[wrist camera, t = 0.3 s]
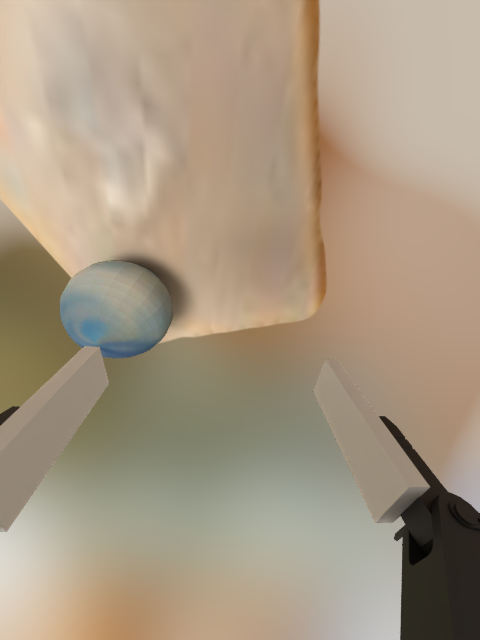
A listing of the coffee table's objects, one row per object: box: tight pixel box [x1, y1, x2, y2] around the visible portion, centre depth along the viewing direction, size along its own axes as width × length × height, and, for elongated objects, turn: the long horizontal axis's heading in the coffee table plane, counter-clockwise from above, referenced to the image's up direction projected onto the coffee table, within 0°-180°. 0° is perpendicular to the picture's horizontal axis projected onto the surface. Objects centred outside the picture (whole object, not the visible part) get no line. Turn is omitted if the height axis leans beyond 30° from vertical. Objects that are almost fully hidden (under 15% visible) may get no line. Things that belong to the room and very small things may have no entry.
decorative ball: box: [60, 260, 173, 358], centre depth 32 cm, size 15×15×15 cm
